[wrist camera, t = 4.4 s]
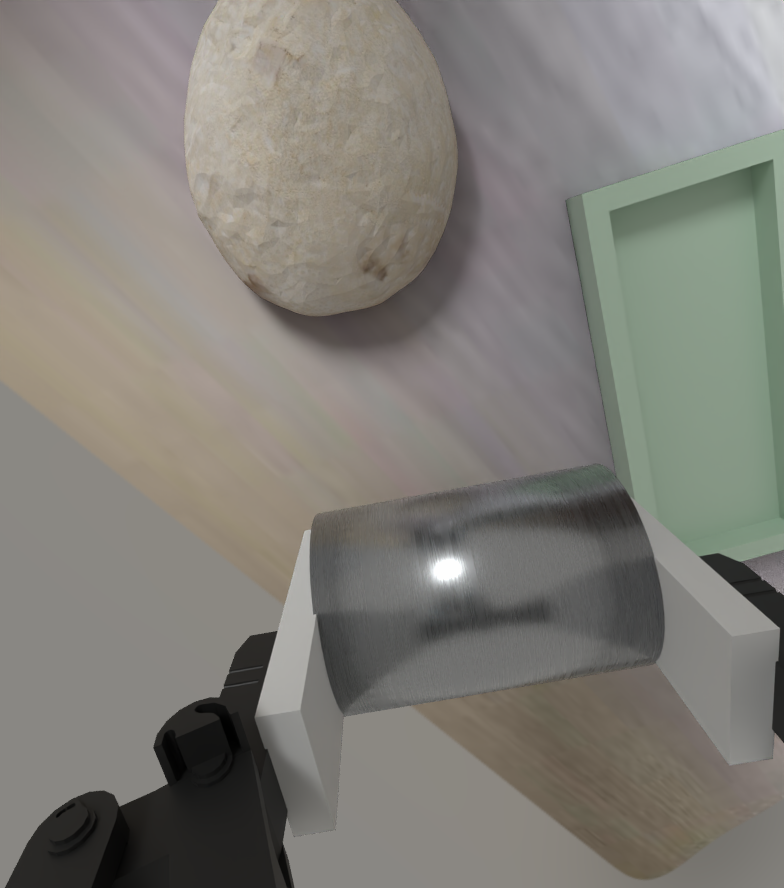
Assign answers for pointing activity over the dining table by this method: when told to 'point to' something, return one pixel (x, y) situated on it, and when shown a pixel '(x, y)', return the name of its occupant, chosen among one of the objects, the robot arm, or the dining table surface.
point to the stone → (319, 149)
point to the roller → (484, 589)
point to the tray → (693, 341)
